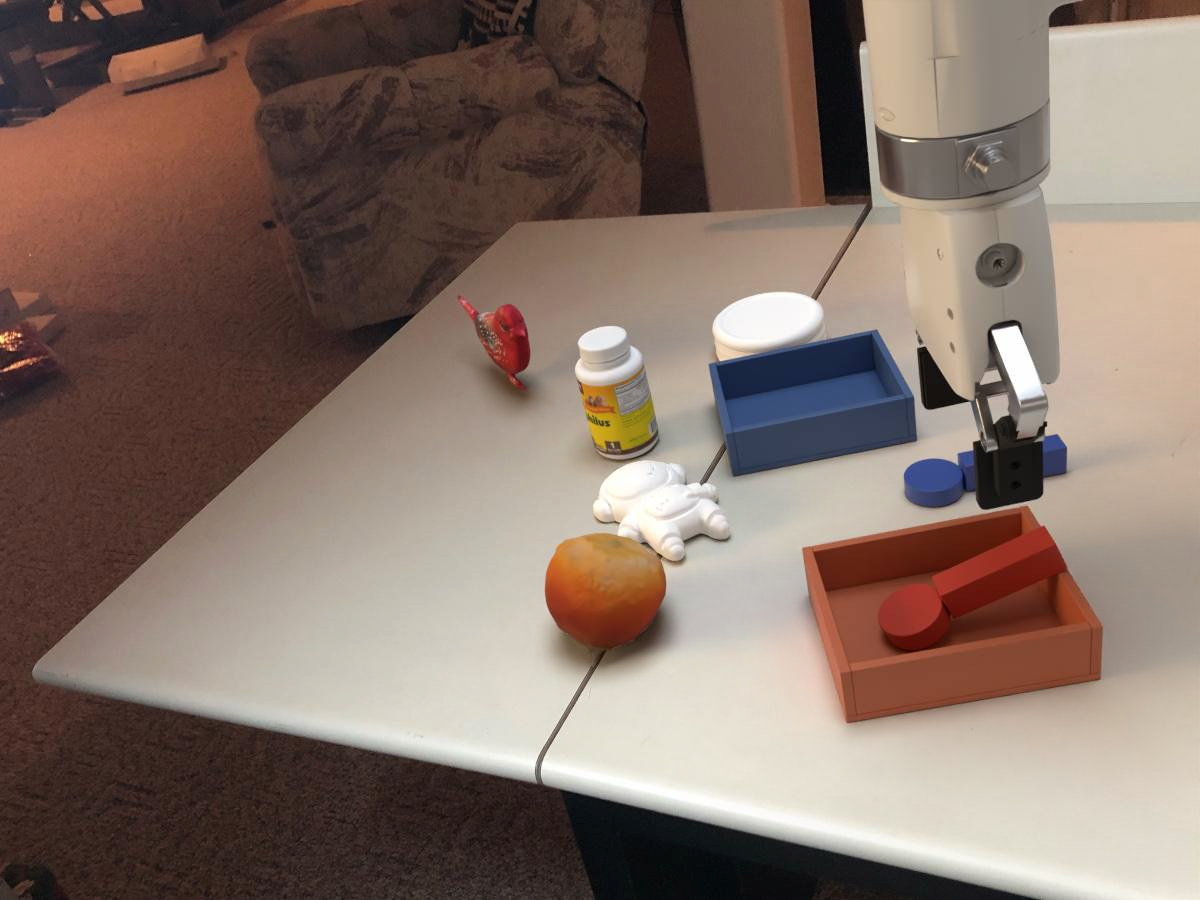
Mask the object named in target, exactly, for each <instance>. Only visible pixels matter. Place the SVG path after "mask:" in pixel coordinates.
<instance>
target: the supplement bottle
mask: <svg viewBox="0 0 1200 900" xmlns="http://www.w3.org/2000/svg"><path fill="white" fill-rule="evenodd" d="M577 346H578V351H579V356H580V358H579V359H578V361H577V362H576V364H575V368H574V373H575V377H576V382H577V385H578V386H577V387H578V389H579V393H580V397H581V400H582V404H583V408H584V412H585V416H586V420H587V424H588V427H589V432H590V435H591V438H592V439H591V440H592V442H593V446H594V448H595V450H596V451H597V453H598V454H600V455H601V456H602V457H605V458H607V459H611V460H628V459H629V460H630V459H633V458H636V457H639V456H642V455H643V454H645V453H646V452H648V451H650V450H651V449H653V447H654V446H655V445H656V443H657V441H658V439H659V435H660V432H659V431H660V430H659V425H658V421H657V415H656V412H655V407H654V402H653V398H652V393H651V389H650V384H649V380H648V376H647V369H646V366H645V361H644V357H643V355H642V353H641V351H640V350H639V349H638V348H636V347H634V346H633V345H631V343H630V341H629V337H628V332H627V330H625V329H624V328H623V327H620V326H616V325H605V326H600V327H597V328H593V329H590V330H588V331H587V332H585V333H583V334H582V335H581V336H580V338H579V339H578V341H577Z"/></svg>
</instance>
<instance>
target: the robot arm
mask: <svg viewBox="0 0 1200 900" xmlns="http://www.w3.org/2000/svg"><path fill="white" fill-rule="evenodd" d="M861 1H862V9H863V10H862V11H863V19H864V20H863V21H864V28H865V29H864V31H865V39H866V49H867V58H868V68H869V69H868V71H869V79H870V89H871V100H872V110H873V122H874V132H875V143H876V154H877V164H878V173H879V174H878V175H879V186H880V191H881V194H882V195H883V197H884V198H885V199H886V200H888V201H889V202H890V203H892V204H896V205H898V206H899V208H900V209H899V212H900V213H899V215H900V232H901V249H902V251H901V252H902V263H903V275H904V285H905V293H906V299H907V305H908V311H909V314H910V318H911V321H912V323H913V326H914V329H915V335H916V339H917V342H918V344H919V347H916V354H917V356H916V357H917V368H918V378H919V389H920V400H921V404H922V406H923V408H924V409H926V410H928V411H933V410H938V409H943V408H947V407H951V406H956V405H960V404H965V403H969V402H970V405H971V409H972V414H973V418H974V422H975V425H976V429H977V433H978V437H979V439H978V440H975V441H972V450H973V455H974V472H975V490H974V491H975V501H976V504H978V507H979V508H980V509H981V510H984V511H987V510H988V511H989V510H993V509H999V508H1003V507H1008V506H1013V505H1017V504H1022V503H1026V502H1032V501H1036V500H1039V499H1041V498H1042V496H1043V495H1044V477H1043V441H1044V440H1045V436H1046V428H1047V427H1048V421H1047V420H1046V416H1047V414H1048V412H1049V399H1048V396H1047V393H1046V391H1045V388H1044V386H1043V385H1052V384H1054V383H1055V382H1057V379H1058V378H1059V376H1060V372H1061V357H1060V335H1059V319H1058V317H1059V316H1058V303H1057V301H1058V300H1057V289H1056V275H1055V274H1056V273H1055V265H1054V255H1053V254H1054V253H1053V245H1052V238H1051V236H1052V235H1051V231H1050V223H1049V218H1048V212H1047V207H1046V202H1045V197H1044V193H1043V189H1042V187H1041V186H1040V185H1041V184H1042V183H1044V181H1045V180H1046V179H1047V178H1048V176H1049V175H1050V172H1051V99H1050V97H1051V96H1050V17H1051V14H1052V13H1053V12H1054V11H1055V10H1056V9H1057V8H1059V7H1061V6H1064V5H1068V4H1072V3H1077V2H1083V0H861ZM923 345H924V346H923ZM993 371H998V373H999V377H1000V379H1001V380H998V381H992V382H988V383H984V384H983V383H982V384H981V382H982V380H983V378H984V375H985V373H989V372H993ZM1005 395H1007V400H1008V401H1007V403H1008V404H1007V405H1008V406H1007V412H1008V415H1003V416H1000V417H999V418H998V419H997V420H996V421H995V422H994V420H993V416H992V412H991V408H990V404H989V400H988V399H991V398H996V397H1000V396H1005Z"/></svg>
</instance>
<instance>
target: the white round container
mask: <svg viewBox="0 0 1200 900" xmlns="http://www.w3.org/2000/svg"><path fill="white" fill-rule="evenodd" d="M826 327H827V326H826V321H825V311H824V308H823V306H822V304H820V303H819V302H818V301H817V300H816V299H814V298H812V297H810V296H808V295H807V294H806V295H805V294H802V293H798V292H792V291H772V292H770V291H769V292H764V293H763V292H762V293H758V294H753V295H750V296H747V297H744V298H741V299H739V300H736V301H734V302H733V303H730V304H729V305H728V306H726V307H724V309H722V310H721V311H720V312H719V313H718V314H717V315H716V317H715V318H714V320H713V323H712V328H711V333H712V335H713V342H714V346H715V354H716V356H717V359H718V361H724V360H729V359H734V358H739V357H744V356H749V355H754V354H758V353H763V352H768V351H773V350H778V349H783V348H788V347H793V346H798V345H802V344H807V343H812V342H817V341H822V340H827V339H828V335H827V331H826Z"/></svg>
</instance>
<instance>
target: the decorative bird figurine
mask: <svg viewBox="0 0 1200 900" xmlns="http://www.w3.org/2000/svg"><path fill="white" fill-rule="evenodd" d="M456 297H457V299H458V301H459V302H460V304H461V306H462V307H463V308H464V310H465V312H466V313H467V314H468V316H469V317H470V319H471V321H472V322H473V324H474V328H475V331H476V334H477V337H478V339H479V341H480V342H481V344H482V346H483V348H484V350H485V351H486V353H487V355H488V356H489V358H490V359H491V361H492V362H493V363H494V364H495V365H496V366H497V367H498V368H499V369H500V370H501V371H503V372H505V375H507V376H508V379H509V381H510V382H511V383H512V384H513V385H514V386H515V387H516V388H517V389H521V390H524V391H525V392H527V393H528V392H529V391H528V390H527V388H526V387H525V386H524V385H523V382H522V381H521V380H520V379H518V377H517V374H520V373H521V372H524V371H525V370H526V369H527V368H528V367H529V364H530V361H531V345H530V340H529V331H528V327H527V324H526V321H525V318H524V316H523V315H522V313H521V311H520V310H519V308H518V307H517V306H515V305H514V304H512V303H507V304H506V303H505V304H503V305H501V306H499V307H498V308H497V309H496V311H483V312H479V311H478V310H476V308H475V307H473V306H472V305H471V304H470V303H469V302H468V301H467V300H466V299H465V298H464V297H463V296H461V295H459V294H458V295H457V296H456Z"/></svg>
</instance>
